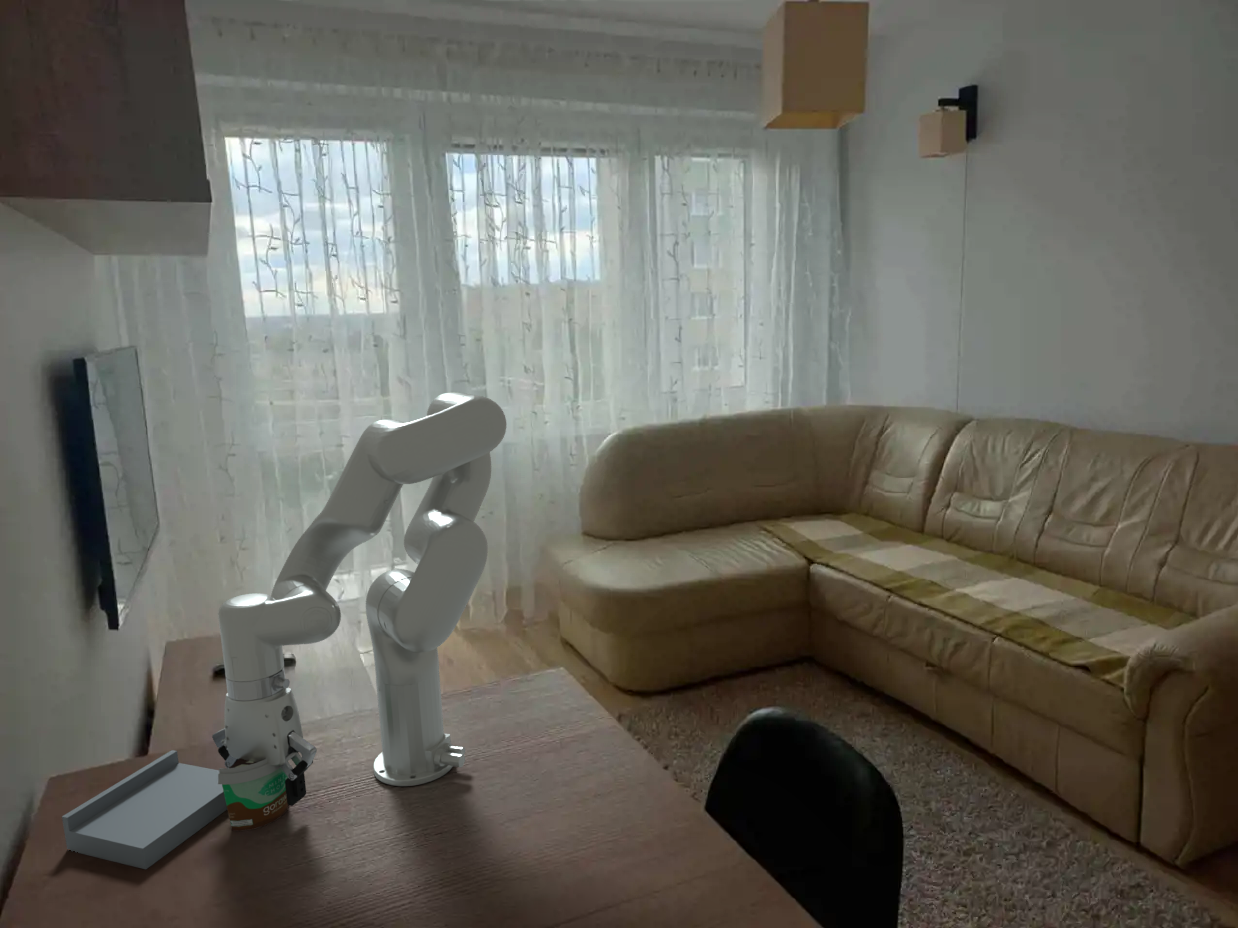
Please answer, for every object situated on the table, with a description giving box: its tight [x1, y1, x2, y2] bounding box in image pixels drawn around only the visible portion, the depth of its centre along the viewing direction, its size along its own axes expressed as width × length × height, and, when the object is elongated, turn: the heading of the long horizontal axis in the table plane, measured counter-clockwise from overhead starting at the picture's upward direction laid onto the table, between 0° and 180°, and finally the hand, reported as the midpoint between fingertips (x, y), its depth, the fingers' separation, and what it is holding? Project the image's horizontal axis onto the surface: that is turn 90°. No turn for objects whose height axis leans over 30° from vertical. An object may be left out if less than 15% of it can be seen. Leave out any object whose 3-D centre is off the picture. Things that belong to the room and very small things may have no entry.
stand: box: [61, 749, 228, 870], centre depth 119 cm, size 14×18×5 cm
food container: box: [218, 753, 290, 832], centre depth 119 cm, size 12×6×10 cm, turn 168°
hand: (269, 794), depth 120 cm, fingers open, 9 cm apart
